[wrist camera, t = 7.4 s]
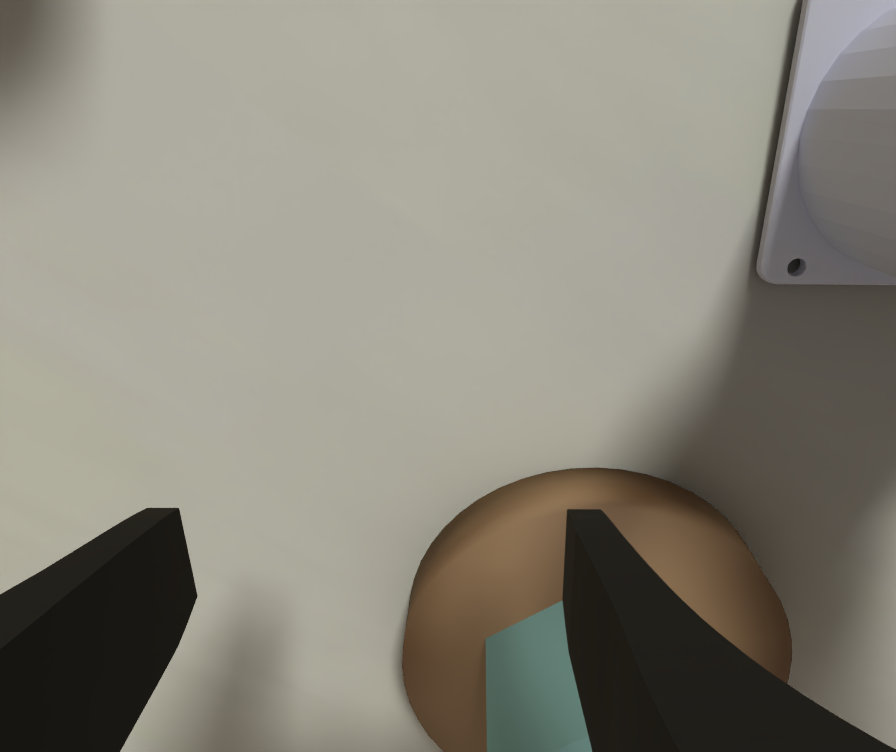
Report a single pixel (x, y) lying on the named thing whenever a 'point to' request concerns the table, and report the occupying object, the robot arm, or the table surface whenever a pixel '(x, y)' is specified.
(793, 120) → the robot arm
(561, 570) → the stand
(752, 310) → the table surface
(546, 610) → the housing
